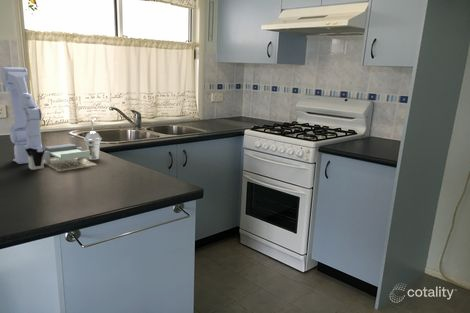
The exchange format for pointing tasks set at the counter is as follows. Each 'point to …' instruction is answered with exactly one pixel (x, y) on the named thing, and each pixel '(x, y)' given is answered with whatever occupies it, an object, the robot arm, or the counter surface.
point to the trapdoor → (66, 151)
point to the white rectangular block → (32, 165)
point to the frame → (66, 162)
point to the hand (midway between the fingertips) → (36, 164)
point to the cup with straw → (93, 143)
